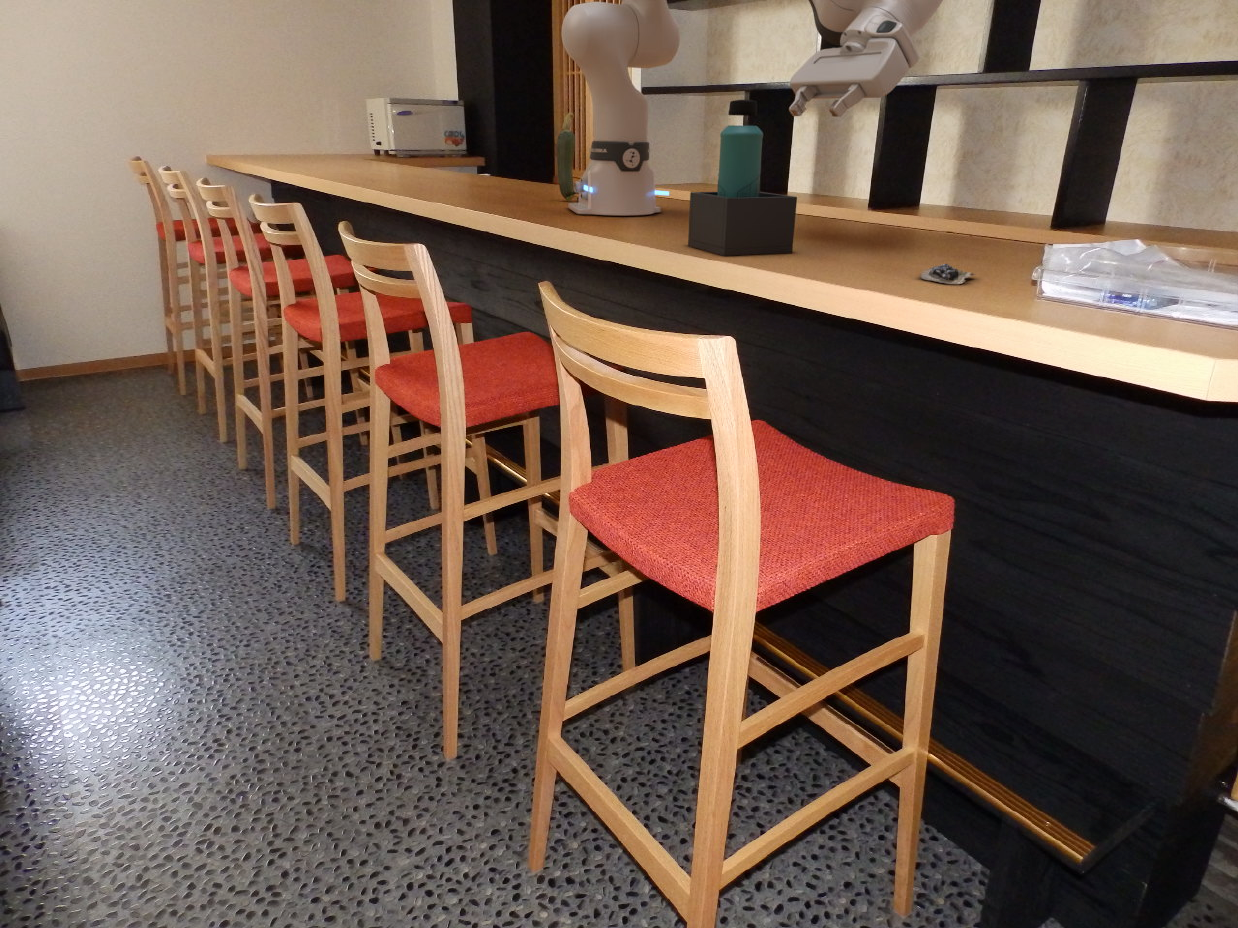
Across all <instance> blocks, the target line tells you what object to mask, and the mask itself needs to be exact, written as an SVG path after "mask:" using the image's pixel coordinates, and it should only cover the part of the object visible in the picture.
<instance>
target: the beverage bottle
mask: <svg viewBox="0 0 1238 928" xmlns="http://www.w3.org/2000/svg"><path fill="white" fill-rule="evenodd" d="M728 116H742V117H747V116H750V117H751V116H752V117H753V116H754V117H755V116H758V103H757V101H756V100H751V99H735V100H731V101H730V102H729V109H728ZM719 135H720V141H719V143H720V144H719V160H718V161H719V162H718V173H717V189H716V192H717V196H722V197H728V198H741V197H759V196H760V192H761V191H760V188H761V185H762V184H761V182H762V181H761V173H762V166H763V164H762V151H763V150H762V149H763V138H764V133H763V131H762V130H761V128H760V127H758V126H757V125H731V124H728V125H726V126H725V128H723V130H722V131H721V132H720V134H719Z"/></svg>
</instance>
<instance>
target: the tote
mask: <svg viewBox="0 0 1238 928" xmlns="http://www.w3.org/2000/svg"><path fill="white" fill-rule="evenodd" d="M759 192H760V196H759V197H741V198H728V197H722V196H717V191H690V193H689V214H688V236H687V237H688V238H687V239H688V240H687V246H688V247H691V248H694V249H698V250H702V251H706V252H709V253H712V254H716V255H720V256H722V257H732V256H733V257H734V256H753V255H775V254H777V255H778V254H792V253H793V250H794V249H793V248H794V247H793V246H794V237H795V226H796V214H797V202H798V197H797V196H794V195H786V194H779V193H772V192H764V191H759Z"/></svg>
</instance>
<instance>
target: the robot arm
mask: <svg viewBox="0 0 1238 928" xmlns="http://www.w3.org/2000/svg"><path fill="white" fill-rule="evenodd" d="M943 1H944V0H808V3H809V4H810V6H811V10H812V13H813V21H814V24H815V28H816V31H817V32H818V34H819V35H820V36H821V38H822V39H823V40H824V41H826V42H828V43H829V44H832V45H834V46H838V47H830V48H824V49H821V50H818V51H817V52H815V53H814V54H813V55H812V56H810V58H808V59H807V60H806V61H805V62H804V63H803V64H802V66H800V67H799V69H798V70H796V72H795V73H794V74H793V75H792V76H791V77H790V82H789V85H790V87H791V90H792V91H793V93H794V94H795V98H794V101H793V102H792V103H791V105H790V106H789V108H788V111H789V113H790V114H791V115H792V117H801V116H802V115H803V113H805V112H806V111H807V108H806V104H807V103H809V102H810V101H812V100H822V99H823V100H825V99H826V100H828V99H829V100H830V99H834V101H833V102H832V104H831V105H829V107H828V111H829V113H831V116H832V117H836V118H837V117H838V118H841V117H842V116H843V115H845V113H846V112H847V110H849V109H851V108H852V107H854V106H855V105H858V103H860V102H862V100H863V99H880V98H883V97H885V96H886V95H888V94H889V93H891V92H892V91H893V90H894V89H895V88H896V87H897V86H898V84H899V83H900V82H901V81H902V80H903V78H904V77H905V76H906V74H907V73H908V72H909V70H910V69H911V68H913V67H914V66H915V65H916V64H917V63H918V62H919V60H920V56H919V53H918V51H917V48H916V46H915V44H914V42H913V40H912V37H914V36H915V35H917V34H918V33H919V32H920V31H921V30H922V29H923V28H924V27H925V25H927V23H928V22H929V21H930V20H931V18H932V17H933V16H934V14H935V13H936V12H937V10H938V8H939V7H940V6H941V4H942V3H943ZM561 41H562V45H563V48H564V50H565V52H566V54H567V55H568V57H569V58H570V59H572V61H574V63H575V64H576V65H577V67H578V68H579V69H580V71H581V73H582V74H583V76H584V78H585V81H586V83H587V85H588V89H589V93H590V96H591V103H592V117H593V119H592V120H593V121H592V122H593V140H592V141H591V144H590V145H591V146H590V148H589V149H590V150H589V159H590V161H589V163H588V165H587V167H586V169H585V170H584V172H583V174H582V176H581V178H580V179H579V180H576V181H574V182H573V188H574V193H573V196H575V195H578V196H577V197H576V200H577V201H578V202H571V203H570V202H569V203H568V204H567V205H568V206H567V208H568V209H569V210H570V211H572V212H574V213H575V214H577V215H596V216H597V215H598V216H646V215H652V214H656V213H661V212H662V211H661V207H660V206H656V196H670V191H669V190H668V191H667V190H658V189H657V190H656V184H655V183H656V182H655V181H656V180H655V172H654V170H653V169H652V168H651V167H650V165H649V162H648V161H649V160H650V153H651V149H650V143H649V141H648V133H649V131H648V128H649V125H648V124H649V104H648V103H649V102H648V100H647V97H646V96H645V95H644V94H643V92H642V91H640V90H638V89H637V88H636V87H635V86H634V84H633V82H632V79H631V76H630V73H629V69H628V68H633V69H652V68H657V67H658V68H659V67H661V66H665V65H668V64H670V63H671V62H672V61H673V59H674V58H675V57H676V55H677V53H678V50H679V47H680V42H681V33H680V27H679V24H678V22H677V20H676V18H675V17H674V15H673V14H672V12H671V9H670V8H669V5H668V1H667V0H621V3H613V2H605V1H589V2H583V3H578V4H574V5H572V6H571V7H570V8H569V9H568V11H567V12H566V14H565V16H564V18H563V21H562V25H561Z"/></svg>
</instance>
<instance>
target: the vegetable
mask: <svg viewBox="0 0 1238 928" xmlns="http://www.w3.org/2000/svg"><path fill="white" fill-rule="evenodd" d="M574 118H575V114H574V113H572V111H570V112H568V114H566V115H565V117H564V120H563V123H562V127H561V128H562V130H561V131H560V132H559V133H558V136H557V138H556V139H557V141H556V156H557V157H556V158H557V159H556V163H557V165H556V166H557V180H558V181H557V182H558V186H559V192H560V194H561V196H562V197H563V198H564V200H565V201H566V202H571V200H573V199H574V198H573V197H574V195H573V193H574V178H573V161H574V157H575V149H576V137H575V134H574V132H573V131H572V130H571V126H572V120H574Z"/></svg>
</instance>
